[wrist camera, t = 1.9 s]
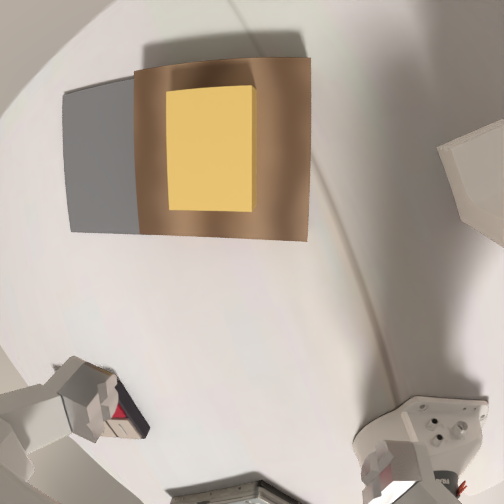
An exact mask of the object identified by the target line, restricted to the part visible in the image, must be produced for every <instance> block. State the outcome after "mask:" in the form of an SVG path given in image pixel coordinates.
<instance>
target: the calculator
mask: <svg viewBox="0 0 504 504" xmlns="http://www.w3.org/2000/svg"><path fill="white" fill-rule="evenodd" d="M114 388H115V389H116V391H117V392H118V405H117V408H116V410H115V413H114V414H113V416H112V418H111V419H109V420H107V421H104V422H103V423H104V430H103V432H102V433H101V435H100V436H103V437H114V438H116V437H119V438H127V439H145V438H146V436H147V434H148V432H149V430H150V426H149V425H148V423H147V422H146V420H145V419H144V417H143V416H142V414H141V413H140V411H139V410H138V408H137V407H136V405H135V404H134V402H133V401H132V399H131V397H130V396H129V394H128V393H127V391H126V389H125V388H124V386H123V384H122V383H121V382H120V381H117V384H116V386H115V387H114Z"/></svg>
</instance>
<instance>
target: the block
mask: <svg viewBox="0 0 504 504" xmlns="http://www.w3.org/2000/svg"><path fill="white" fill-rule="evenodd" d="M436 148H437V151H438V153H439V156H440V158H441V161H442V164H443V167H444V169H445V172H446V175H447V178H448V181H449V184H450V187H451V190H452V193H453V196H454V199H455V202H456V206H457V209H458V212H459V216H460V219H461V221H462V222H464V223H466V224H467V225H469V226H471V227H472V228H474V229H476V230H477V231H479V232H480V233H482V234H483V235H485V236H487V237H488V238H490V239H491V240H493V241H494V242H496V243H497V244H499V245H500V246H502V247H503V248H504V118H503V119H501V120H498V121H496V122H494V123H491V124H489V125H487V126H484V127H482V128H480V129H477V130H475V131H473V132H470V133H468V134H466V135H463V136H461V137H459V138H456V139H454V140H452V141H450V142H447V143H445V144H443V145H440V146H438V147H436Z"/></svg>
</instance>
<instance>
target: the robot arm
mask: <svg viewBox="0 0 504 504" xmlns="http://www.w3.org/2000/svg"><path fill="white" fill-rule="evenodd" d="M116 384H117V376H116V375H114V374H112V373H110V372H108V371H106V370H103V369H101V368H99V367H97V366H95V365H93V364H91V363H89V362H86V361H84V360H82V359H80V358H78V357H76V356H72V357H70V358H69V359H68V360H67V361H66V362H65V363H64V364H63V365H62V366H61V367H60V368H59V369H58V370H57V371H56V372H55V374H54V375H53V376H52V377H51V378H50V379H49V380H48V381H47V382H46V383H45V384H44V385H41V384H37V385H33V386H30V387H26V388H23V389H19V390H15V391H12V392H8V393H4V394H0V504H61V503H59V502H57V501H56V500H54V499H52V498H51V497H49V496H47V495H46V494H44V493H42V492H41V491H40V490H38V489H36V488H35V487H33V486H32V485H30V484H29V483H27V481H28V480H29V478H30V477H31V475H32V474H33V472H34V471H35V469H34V466H33V464H32V462H31V461H30V459H29V457H28V456H27V454H29V453H31V452H34V451H36V450H38V449H40V448H42V447H44V446H47V445H49V444H51V443H53V442H55V441H57V440H59V439H62V438H64V437H66V436H68V435H70V434H72V432H73V433H75V434H77V435H79V436H81V437H83V438H85V439H87V440H89V441H91V442H94V443H96V441H97V440H98V438H99V437H100V435H101V433H102V432H103V430H104V423H103V422H104V421H107V420H109V419H111V418H112V416H113V414H114V413H115V410H116V408H117V405H118V392H117V391H116V389H115V388H114V387H115V386H116ZM488 411H489V407H488V404H487V401H480V400H461V399H446V398H434V397H423V396H415V397H413V398H411V399H409V400H408V401H406V402H405V403H404V404H403V405H401V406H400V407H399V408H398V409H396V410H394V411H392V412H390V413H388V414H385V415H383V416H381V417H379V418H377V419H375V420H374V421H372V422H371V423H369V424H368V425H366V426H365V427H364V428H363V429H362V430H361V431H360V432H359V433H358V435H357V436H356V438H355V440H354V442H353V451H354V453H355V455H356V457H357V459H358V461H359V464H360V467H361V480H362V481H363V482H364V484H365V488H364V490H363V491H362V494H363V504H462V503H461V502H460V501H459V500H458V498H459V497H460V494H461V493H462V492H463V491H464V489H465V488H466V487H467V486H465V487H464V485H465V482H466V481H463V483H462V484H461V485H460V486H459V487H458V484H457V483H458V478H459V477H460V476H461V475H462V474H463V473H464V471H465V470H466V469H467V467H468V466H469V465H470V464H471V462H472V461H473V459H474V458H475V457H476V455H477V453H478V452H479V450H480V447H481V444H482V438H483V436H482V427H483V426H484V424H485V421H486V419H487V416H488ZM463 487H464V488H463Z"/></svg>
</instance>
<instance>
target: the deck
mask: <svg viewBox="0 0 504 504" xmlns="http://www.w3.org/2000/svg"><path fill="white" fill-rule="evenodd" d="M247 85H252V86H253V87H254V88H255V89H256V90H257V161H256V207H255V208H254V210H253V211H252V212H237V211H197V210H169V197H168V175H167V142H166V92H168V91H176V90H186V89H196V88H209V87H224V86H247ZM134 159H135V179H136V195H137V209H138V221H139V231H140V234H148V235H173V236H197V237H220V238H242V239H263V240H283V241H302V242H307V237H308V217H309V192H310V159H311V58H300V57H261V58H237V59H222V60H210V61H199V62H190V63H182V64H175V65H168V66H161V67H155V68H149V69H143V70H138V71H134Z"/></svg>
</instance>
